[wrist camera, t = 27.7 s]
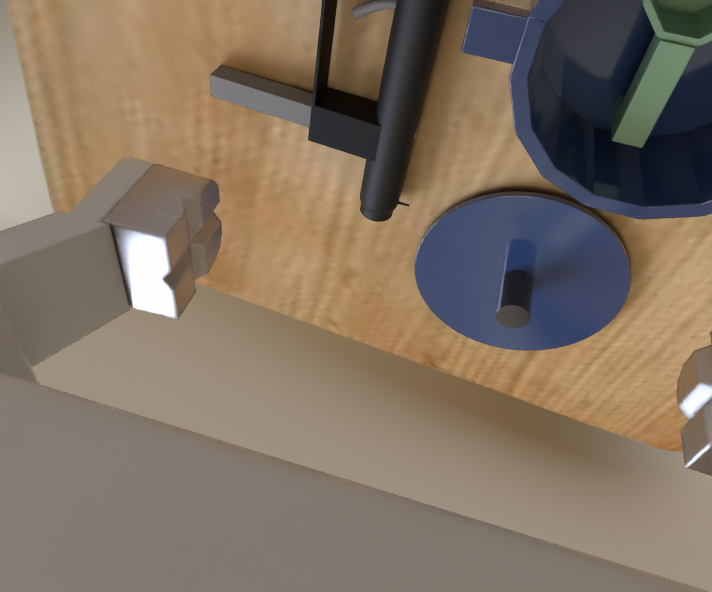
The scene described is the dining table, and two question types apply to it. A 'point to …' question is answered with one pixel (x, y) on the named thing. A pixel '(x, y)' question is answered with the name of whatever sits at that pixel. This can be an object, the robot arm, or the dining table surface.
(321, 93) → the door handle
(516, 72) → the pot
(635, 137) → the scoop
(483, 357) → the dining table surface
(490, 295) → the lid
